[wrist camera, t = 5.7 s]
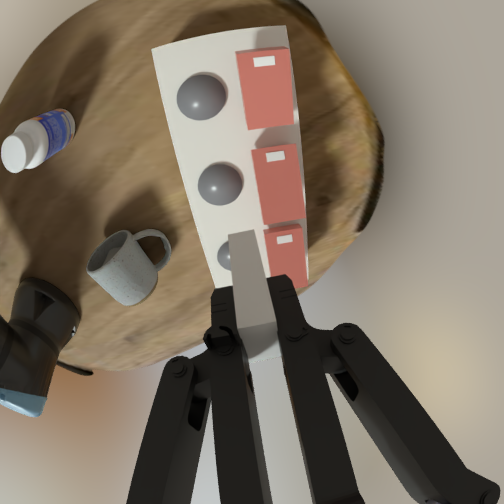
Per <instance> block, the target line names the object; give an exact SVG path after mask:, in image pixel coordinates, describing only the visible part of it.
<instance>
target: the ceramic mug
mask: <svg viewBox="0 0 504 504" xmlns="http://www.w3.org/2000/svg"><path fill="white" fill-rule="evenodd" d="M146 236H156V237H160V238H161V240H162V241H163V244H164V249H165V250H166V253H165V256H164V257H163V258H162V260H161V261H160V262H159V263H157V264H156V265H153V263H152V262H151V260H150V259H149V258H148V257H147V256H146V254H145V253H144V251H143V250H142V248H141V247H140V245H139V244H138V242H137V240H138V239H140V238H143V237H146ZM170 256H171V246H170V243H169V241H168V239H167V237H166V236H165V235H164V234H163V233H162V232H160V231H159V230H155V229H146V230H143V231H140V232H138V233H136V234H134V235H132V234H131V233H130V232H129V231H128V230H121V231H118V232H116V233H114V234H112V235H111V236H109V237H108V238H106V239H105V240H104V241H103V242H102V243H101V244H100V245H99V246H98V247H97V248H96V249H95V251H94V252H93V253H92V255H91V257H90V259H89V260H88V263H87V266H86V270H87V273H88V274H89V275H90V276H91V277H92V278H93V279H94V280H95V281H96V282H97V283H98V284H100V285H101V286H102V287H103V288H104V289H105V290H106V291H107V292H108V293H109V294H110V295H111V296H112V297H113V298H115V299H116V300H117V301H118V302H120V303H122V304H123V305H125V306H129V307H131V306H136V305H139V304H141V303H142V302H144V301H145V300H146V299H147V298H148V297H149V296H150V295H151V294H152V293H153V291H154V290H155V288H156V285H157V282H158V273H157V272H158V271H159V270H161V269H162V268H163V267H164V266H165V265H166V264H167V263H168V261H169V260H170Z"/></svg>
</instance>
